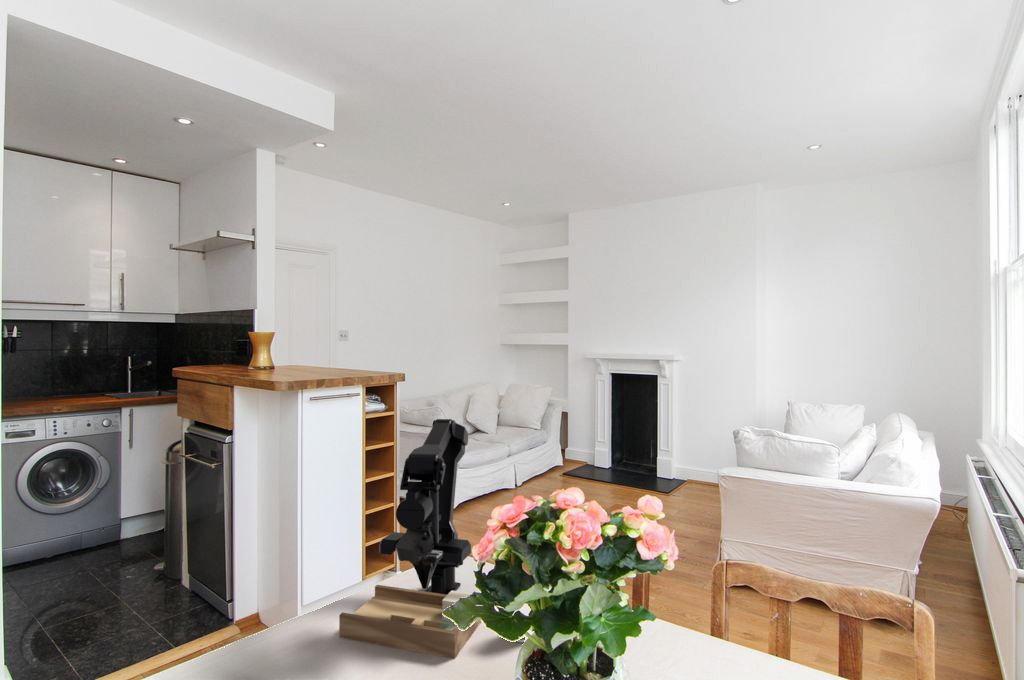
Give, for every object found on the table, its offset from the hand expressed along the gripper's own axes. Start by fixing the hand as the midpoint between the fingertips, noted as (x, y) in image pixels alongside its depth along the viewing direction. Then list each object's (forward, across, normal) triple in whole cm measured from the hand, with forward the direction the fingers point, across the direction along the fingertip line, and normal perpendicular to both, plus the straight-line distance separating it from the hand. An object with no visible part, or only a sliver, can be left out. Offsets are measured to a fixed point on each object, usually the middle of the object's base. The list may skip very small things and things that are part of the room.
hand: (425, 587), depth 113 cm
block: (+5, +7, 0) cm, 9 cm away
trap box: (+7, -2, -3) cm, 8 cm away
